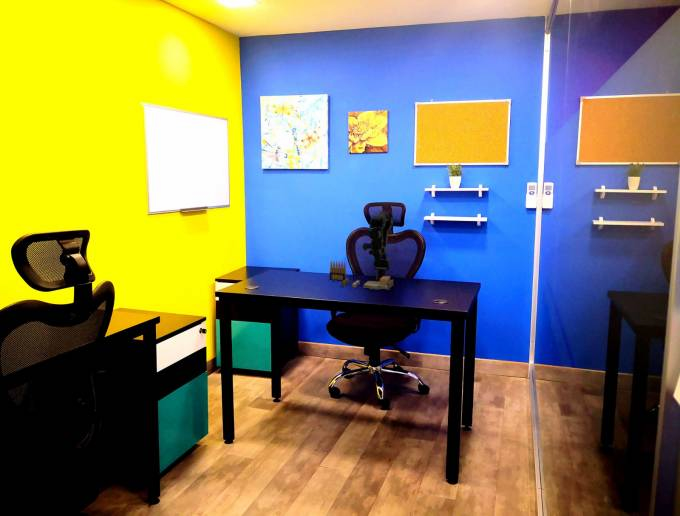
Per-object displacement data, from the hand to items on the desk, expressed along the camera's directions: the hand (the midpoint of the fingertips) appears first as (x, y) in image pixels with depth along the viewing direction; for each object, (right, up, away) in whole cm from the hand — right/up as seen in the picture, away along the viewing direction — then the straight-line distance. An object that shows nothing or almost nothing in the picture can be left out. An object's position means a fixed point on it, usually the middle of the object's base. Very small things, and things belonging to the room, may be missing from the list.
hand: (377, 265), depth 315 cm
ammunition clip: (-23, -10, +10) cm, 26 cm away
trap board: (-6, -12, -7) cm, 15 cm away
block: (+4, -10, -10) cm, 15 cm away
